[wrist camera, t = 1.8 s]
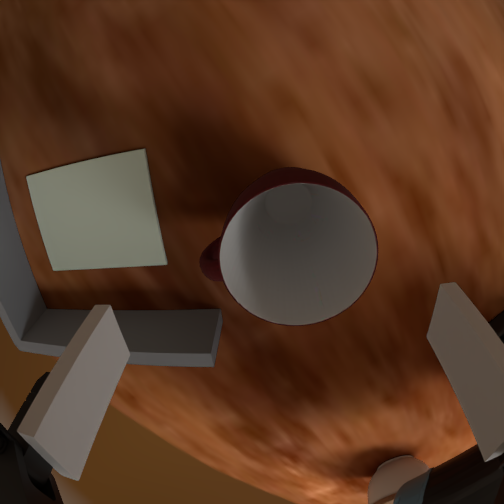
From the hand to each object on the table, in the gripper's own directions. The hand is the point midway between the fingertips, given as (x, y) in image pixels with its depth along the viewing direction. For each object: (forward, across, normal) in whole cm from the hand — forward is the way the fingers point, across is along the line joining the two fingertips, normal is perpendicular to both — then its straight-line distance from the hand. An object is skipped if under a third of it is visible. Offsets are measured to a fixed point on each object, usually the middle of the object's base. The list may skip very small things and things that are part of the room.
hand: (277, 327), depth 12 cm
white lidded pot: (+14, -20, +48) cm, 54 cm away
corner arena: (+14, +16, +1) cm, 22 cm away
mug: (+15, 0, 0) cm, 15 cm away
